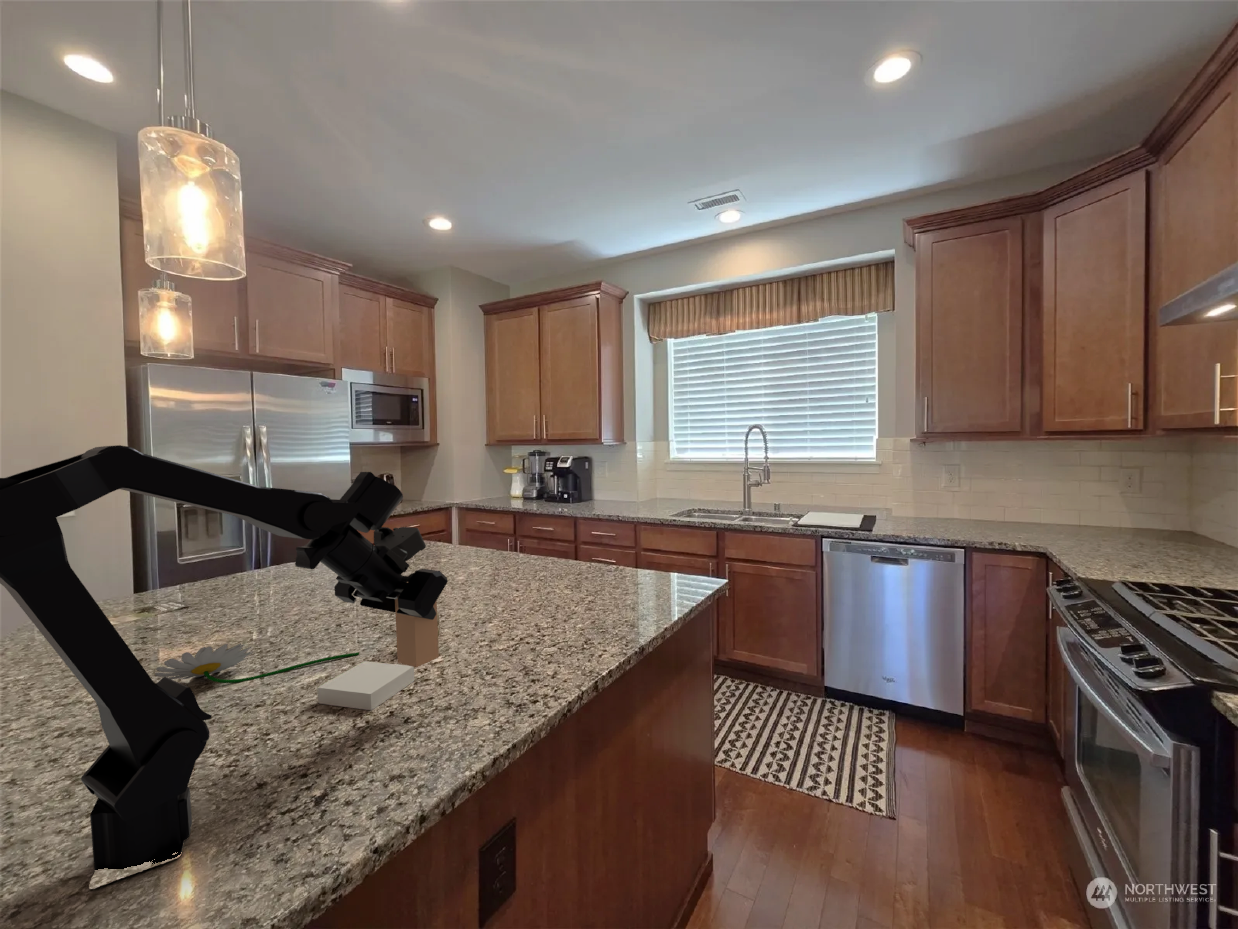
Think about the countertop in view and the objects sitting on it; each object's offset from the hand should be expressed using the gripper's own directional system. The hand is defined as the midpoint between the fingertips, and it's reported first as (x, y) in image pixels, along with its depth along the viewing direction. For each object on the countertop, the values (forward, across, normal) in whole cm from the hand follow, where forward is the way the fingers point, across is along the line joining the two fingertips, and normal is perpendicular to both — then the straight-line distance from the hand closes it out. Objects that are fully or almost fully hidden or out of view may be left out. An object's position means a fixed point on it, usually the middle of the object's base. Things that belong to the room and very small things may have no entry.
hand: (423, 614), depth 81 cm
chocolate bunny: (+21, +20, -2) cm, 29 cm away
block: (+4, 0, +6) cm, 7 cm away
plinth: (+8, +11, +11) cm, 17 cm away
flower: (+5, +34, +14) cm, 37 cm away
